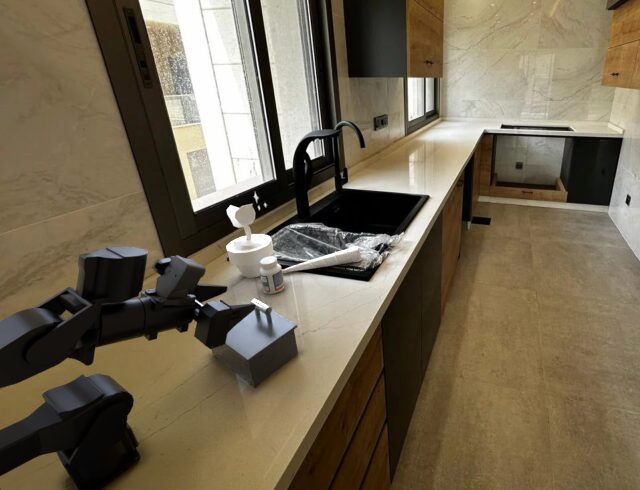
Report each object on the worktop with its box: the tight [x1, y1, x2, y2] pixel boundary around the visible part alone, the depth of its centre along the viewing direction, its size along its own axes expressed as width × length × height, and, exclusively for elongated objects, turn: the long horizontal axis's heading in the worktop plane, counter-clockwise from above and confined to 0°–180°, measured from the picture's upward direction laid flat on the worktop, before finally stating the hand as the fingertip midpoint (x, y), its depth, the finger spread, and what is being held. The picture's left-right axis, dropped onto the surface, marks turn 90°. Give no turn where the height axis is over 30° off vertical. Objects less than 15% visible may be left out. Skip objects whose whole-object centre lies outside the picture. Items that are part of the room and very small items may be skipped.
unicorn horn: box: [282, 245, 362, 273], centre depth 98 cm, size 5×24×5 cm, turn 106°
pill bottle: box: [259, 255, 286, 295], centre depth 87 cm, size 5×5×9 cm
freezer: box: [211, 329, 299, 389], centre depth 66 cm, size 10×15×6 cm, turn 58°
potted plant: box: [226, 192, 275, 279], centre depth 91 cm, size 13×12×25 cm
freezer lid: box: [224, 297, 298, 362], centre depth 65 cm, size 10×15×4 cm
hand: (240, 297), depth 61 cm, fingers open, 9 cm apart
